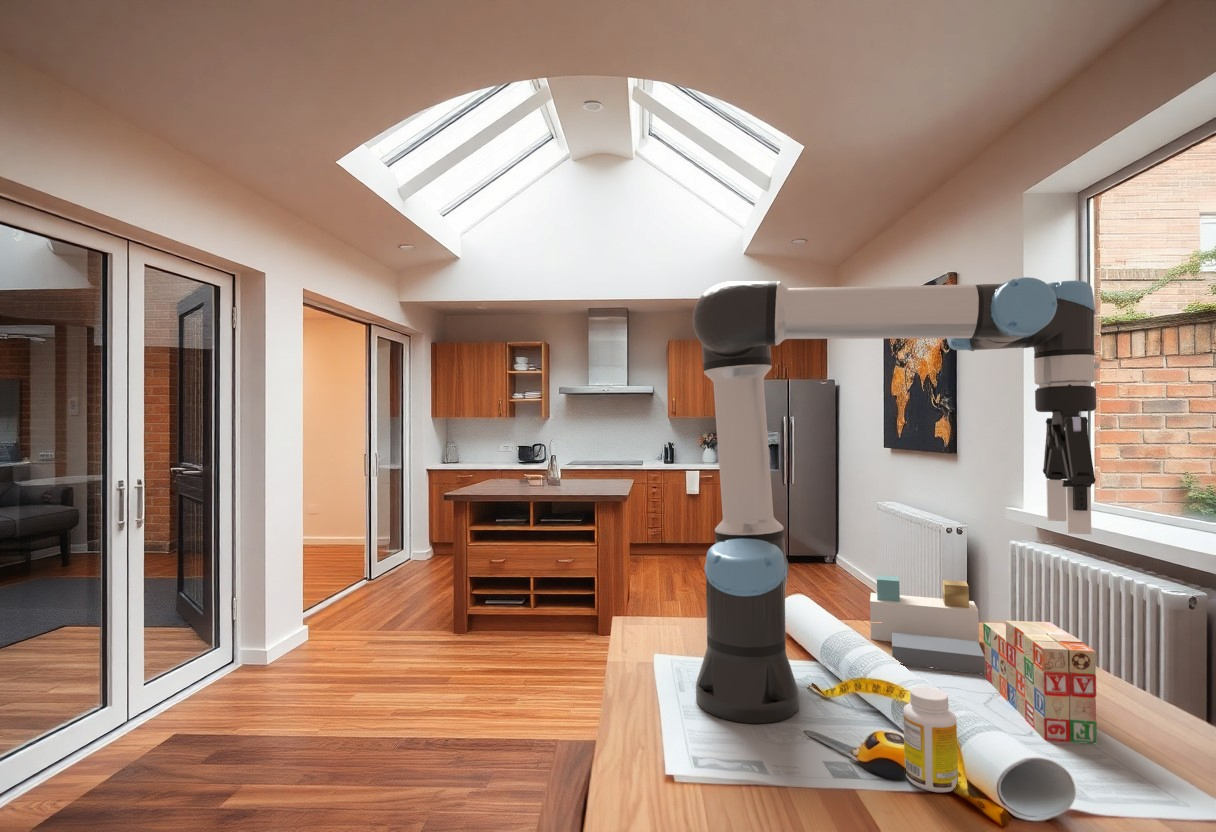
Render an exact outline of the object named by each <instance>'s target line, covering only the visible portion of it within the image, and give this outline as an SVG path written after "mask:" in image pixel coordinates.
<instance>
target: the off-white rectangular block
mask: <svg viewBox="0 0 1216 832" xmlns="http://www.w3.org/2000/svg"><path fill="white" fill-rule="evenodd" d="M869 598H870V599H869V601H870V602H869V606H870V607H869V609H870V610H869V611H870V615H869V616H870V640H876V641H884V642H891V643H892V633H901V634H911V635H920V636H930V637H939V638H949V639H958V640H968V641H978V643H979V644H980V620H979V615H980V613H979V612H980V611H979V609H978V607H977V605H976V603H975V601H973V600H969V608H965V607H953V606H945V604H944V602H943V598H938V597H926V596H914V595H902V594H900V602H895V601H884V600H877V592H870V597H869ZM871 622H882V623H871Z"/></svg>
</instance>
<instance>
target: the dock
mask: <svg viewBox="0 0 1216 832" xmlns="http://www.w3.org/2000/svg"><path fill="white" fill-rule="evenodd" d="M891 654H892V655H891V658H892V657H894V658H895V659H896V660H898V661H899V662H901V663H903V664H905V665H904V666H910V667H919V668H926V667H933V668H932V669H934V668H938V669H937V670H944V671H953V672H959V671H960V672H961V673H967V672H972V673H971V674H975V673H982V674H981V675H984V674H985V675H986V672H985V661H986V660H985V653H984V652H983V649H982V648H981V645H980V642H979V643H978V641H968V640H958V639H949V638H939V637H930V636H920V635H911V634H901V633H892V642H891ZM960 672H959V673H960Z"/></svg>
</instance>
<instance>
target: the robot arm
mask: <svg viewBox="0 0 1216 832" xmlns="http://www.w3.org/2000/svg"><path fill="white" fill-rule="evenodd" d="M1095 314H1096V308H1095V297H1094V292H1093V288H1092V285H1091V284H1090V283H1088V282H1086V281H1084V280H1063V281H1062V280H1061V281H1058V282H1054V281H1053V282H1049V283H1046V282H1045V281H1043V280H1041V279H1039V278H1036V277H1029V276H1027V277H1024V276H1023V277H1018V278H1013V279H1011V280H1008V281H1006V282H1004V283H982V284H937V285H936V284H933V285H932V284H931V285H928V284H927V285H881V286H879V285H876V286H875V285H873V286H830V287H829V286H827V287H825V286H824V287H823V286H822V287H819V286H818V287H817V286H816V287H787V286H786V285H784V284H783V283H782V281H780V280H778V281H773V280H772V281H771V280H770V281H760V280H759V281H755V280H754V281H753V280H752V281H751V280H750V281H749V280H747V281H746V280H743V281H741V280H733V281H732V280H731V281H725V282H724V281H723V282H721V283H718V284H715V285H713V286H711V287H710V288H708V289H707V290H706V291H704V292H703V294H701V296H700V297H699V298H698V299H697V301H696V304H695V306H694V309H693V315H692V326H693V330H694V333H695V336H696V337H697V339H698V340H699V342H700V343H701V350H702V353H701V354H702V364H703V375H705V376H706V377H707V378H708V379H709V380H711V381H712V383H713V384H712V385H713V397H714V398H713V399H714V410H715V411H714V413H715V426H716V439H717V440H716V441H717V452H718V453H717V454H718V467H719V469H718V470H719V481H720V496H721V509H722V520H721V521H720V522H719V523H718V525H716V527H715V528H714V535H715V536H714V538H715V539H714V540H715V543H714V544H713V545H711V546H710V548H709V549H708V550H707V553H706V557H705V564H704V573H705V577H706V578H705V583H706V584H705V585H706V587H705V588H706V591H705V592H706V600H705V601H706V651H705V653H704V657H703V660H702V664H701V666H700V669H699V673H698V676H697V679H696V682H695V683H696V684H695V689H696V690H695V700H696V703H697V705H698V706H699V707H700V708H701V709H703V710H704V711H705V712H707V713H709V714H710V715H714V716H715V717H718V718H721V719H724V720H728V721H733V722H739V723H745V724H764V723H765V724H766V723H767V724H768V723H775V722H780V721H783V720H786V719H789V718H790V717H793V716H794V715H795V714H796V713H797V712H798V710H799V707H800V700H799V699H800V698H799V688H798V686H797V683H796V679H795V676H794V673H793V670H792V666H791V664H790V661H789V658H788V655H787V649H786V648H787V647H786V645H787V644H786V589H787V582H788V578H789V574H790V573H789V567H790V566H789V561H788V558H787V556H786V555H787V553H786V544H785V542H786V541H785V530H784V529H785V528H784V525H782V523H780V522H779V520H777V519H776V518H775V516H774V505H773V503H774V502H773V490H772V477H771V463H770V450H769V449H770V448H769V436H768V435H769V434H768V423H767V420H768V419H767V408H766V406H767V405H766V396H765V381H764V380H765V377H766V375H767V374H768V373H769V372H770V371H771V369H772V365H773V364H772V351H771V346H779V345H780V344H781V343H783V341H785V340H789V339H790V340H797V339H799V340H804V339H805V340H808V339H809V340H812V339H813V340H814V339H815V340H818V339H819V340H823V339H824V340H826V339H827V340H828V339H831V340H836V339H837V340H839V339H843V340H846V339H848V340H849V339H850V340H851V339H852V340H855V339H858V340H859V339H875V340H876V339H878V340H879V339H881V340H882V339H891V340H892V339H946V342H947V345H948V347H950V349H952V350H954V351H970V352H975V351H981V350H983V351H984V350H1000V349H1001V350H1003V349H1021V348H1022V349H1029V348H1033V350H1034V351H1033V352H1034V353H1033V356H1034V357H1033V374H1034V375H1033V377H1034V379H1033V380H1034V384H1035V385H1038V388H1036V390H1034V402H1035V404H1034V405H1035V406H1034V407H1035V411H1036V412H1038V413H1052V416H1051V417H1047V418H1046V420H1045V424H1046V433H1045V445H1044V446H1045V447H1044V458H1043V459H1044V460H1043V468H1042V473H1043V474H1044V477H1045V478H1046V480H1045V481H1046V482H1045V483H1046V519H1047V520H1046V521H1054V522H1066V533H1067V534H1075V535H1092V503H1091V502H1092V499H1091V497H1092V496H1091V487H1092V485H1094V484H1096V477H1095V472H1094V471H1095V470H1094V463H1093V457H1092V451H1091V446H1090V445H1091V444H1090V439H1089V431H1088V423H1089V420H1088V417H1087V416H1080V413H1081V412H1094V411H1095V410H1096V409H1097V388H1095V386H1094V385H1091V383H1092V384H1093V383H1095V381H1096V370H1098V369H1099V368H1100V363H1099V362H1096V361H1095V359H1096V358H1095V355H1096V351H1095V334H1096V333H1095V327H1096V326H1095V317H1096V316H1095Z"/></svg>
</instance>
